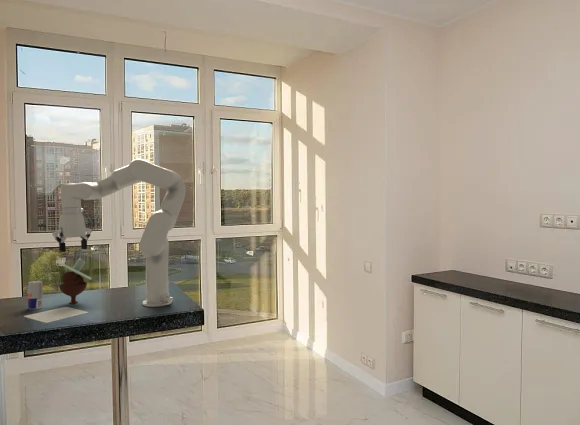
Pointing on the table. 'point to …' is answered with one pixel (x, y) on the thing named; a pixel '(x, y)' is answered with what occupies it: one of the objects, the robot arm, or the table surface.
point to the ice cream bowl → (72, 285)
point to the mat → (55, 314)
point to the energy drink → (35, 295)
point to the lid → (77, 267)
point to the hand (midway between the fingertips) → (73, 250)
